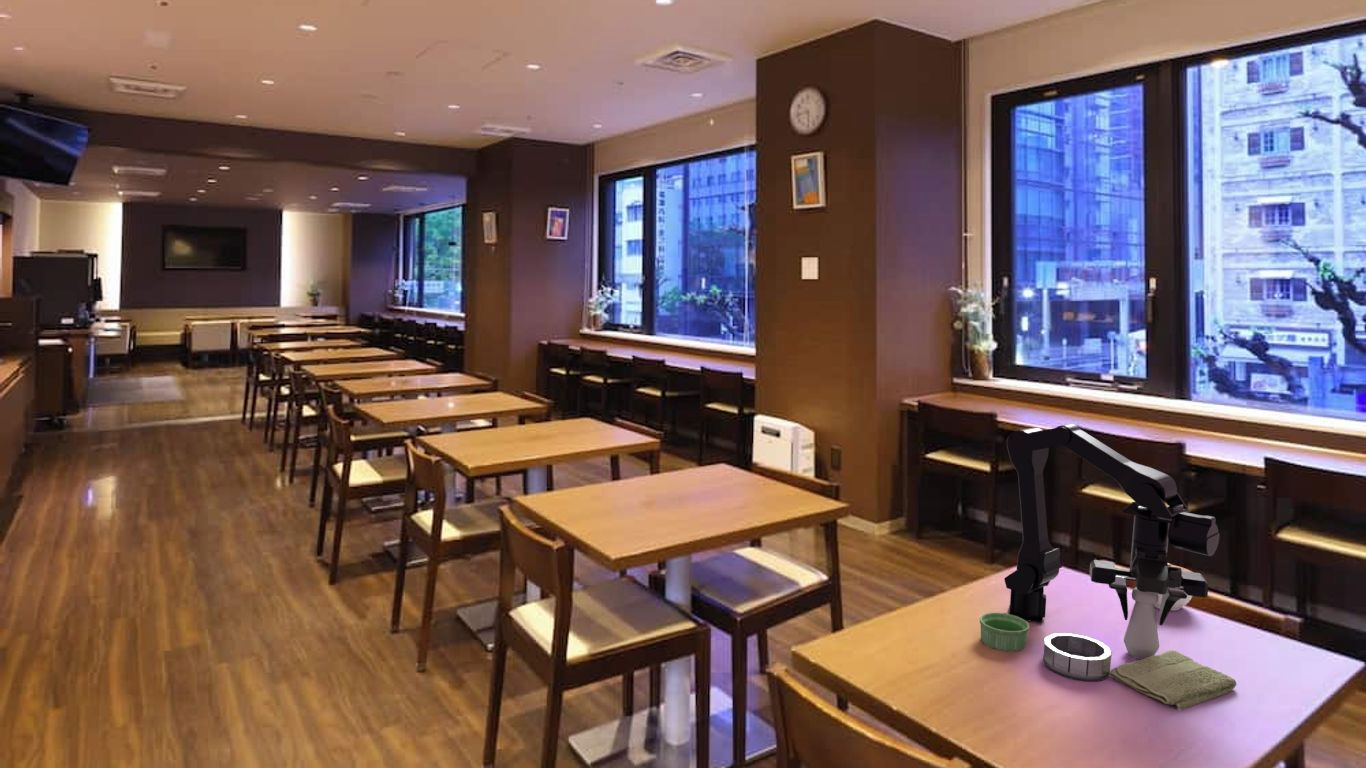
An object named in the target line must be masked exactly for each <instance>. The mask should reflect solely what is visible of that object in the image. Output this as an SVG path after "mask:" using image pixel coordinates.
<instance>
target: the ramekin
mask: <svg viewBox="0 0 1366 768" xmlns="http://www.w3.org/2000/svg"><path fill="white" fill-rule="evenodd" d="M979 624H980V639H981V642H982V643H983V644H984V645H986V646H987V647H989V648H991V647H992V648H991V649H994V648H995V649H994V650H997V649H998V650H997V651H1001V650H1002V651H1004V652H1010V651H1011V653H1012V652H1018V651H1021V650H1023V649H1024V648H1026V647H1025V646H1026V644H1027V643H1026V642H1027V638H1028V632H1029V629H1030V624H1029V622H1028V621H1026V620H1024V619H1022V618H1020V617H1017V616H1014V615H1010V614H1009V613H1004V612H987V613H984V614H981V615H980V616H979Z"/></svg>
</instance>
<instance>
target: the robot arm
mask: <svg viewBox="0 0 1366 768" xmlns="http://www.w3.org/2000/svg"><path fill="white" fill-rule="evenodd" d="M1058 446H1063V447H1064V448H1066V449H1067V450H1069V451H1070V452H1072V453H1073V454H1075V455H1076V456H1077V457H1080V458H1081V459H1083V460H1084V461H1085V462H1087V463H1088V464H1090V465H1092V466H1093V467H1095V468H1096V469H1098V470H1100V471H1101V472H1102V473H1104V474H1106V475H1107V476H1109V477H1110V478H1112V479H1113V480H1114V481H1115V482H1116V483H1118V485H1119V486H1120V488H1121V490H1122V491H1123V492H1124V493H1125V494H1126V495H1127V496H1128V497H1130V499H1132V500H1133V501H1132V502H1131V503H1130V504H1129V505H1128V506H1127V507H1124V508H1123V509H1121V513H1123V514H1125V515H1130V516H1134V517H1133V527H1132V528H1133V529H1132V538H1131V539H1132V540H1131V549H1130V550H1131V551H1130V552H1131V554H1130V562H1129V564H1130V565H1129V569H1125V568H1117V567H1116V566H1115V562H1113V561H1106V560H1098V559H1093V560H1092V561H1091V562H1090V564H1089V576H1090V581H1091V582H1093V583H1097V584H1103V585H1108V587H1109V589H1112V590H1115V592H1116V594H1117V596H1118V598H1119V602H1120V606H1121V611H1122V613H1123V618H1124V620H1125V621H1128V618H1129V608H1128V607H1129V605H1128V588H1127V584H1126V582H1127V581H1131V582H1135V585H1136V586H1135V587H1137V589H1138V590H1139V591H1142V592H1154V593H1158V594H1163V595H1162V600H1161V606H1160V609H1159V612H1158V613H1159V614H1158V625H1159V626H1163V625H1164V622H1165V620H1166V619H1167V617H1168V615H1169V613H1170V612H1171V608H1172V607H1173V605H1174V604H1175V603H1176V602H1177V601H1178V600H1179V599H1186V598H1187V595H1190V596H1192V597H1198V598H1204V599H1205V598H1208V596H1209V595H1208V594H1209V583H1208V582H1207V580H1206V579H1205V577H1204V576H1203V575H1202V574H1201V573H1200V572H1193V571H1192V572H1186V571H1181V568H1178V567H1171V566H1168V564H1167V563H1168V561H1167V559H1168V558H1167V557H1168V545H1169V544H1170V545H1172V546H1173V547H1174V548H1175V549H1179V550H1182V551H1187V552H1192V553H1194V554H1200V555H1205V556H1208V557H1212V556H1214V554H1215V553H1216V551H1217V549H1218V546H1219V542H1220V533H1219V528H1218V525H1217V523H1216V521H1217V520H1216V517H1215V516H1212V515H1201V514H1197V513H1196V514H1195V513H1190V509H1189V508H1188V506H1187V505H1186V503H1185V502H1184V500H1183V499H1182V497H1181V496H1180V494H1179V492H1178V487H1177V484H1176V481H1175V480H1174V478H1173V477H1172V476H1170V475H1168V474H1167V473H1164V472H1162V471H1160V470H1158V469H1156V468H1155V469H1154V468H1152V467H1150V466H1146V465H1143V464H1139V463H1137V462H1134V461H1132V460H1130V459H1128V458H1127V457H1125V456H1124V455H1122V454H1120V453H1118V452H1117V451H1115V449H1112V448H1111V447H1109V446H1108V445H1106V444H1105V443H1103V442H1101V441H1100V440H1098V439H1097V438H1095V437H1093V436H1092V435H1090V434H1088V433H1087V432H1086V431H1085V430H1082V429H1081V428H1080V427H1079V426H1078V425H1076V424H1075V423H1074V424H1073V423H1067V424H1061V425H1058V426H1056V427H1053V428H1050V429H1044V430H1043V429H1041V428H1039V427H1029V428H1024V429H1020V430H1014V431H1013V432H1011V434H1010V435H1009V436H1008V437H1007V439H1006V447H1007V451H1008V457H1009V460H1010V462H1011V464H1012V465H1013V467H1014V469H1015V471H1016V472H1017V478H1018V480H1017V482H1018V490H1019V491H1018V492H1019V502H1020V517H1021V518H1020V519H1021V529H1022V530H1021V531H1022V544H1021V546H1020V548H1019V551H1018V555H1017V561H1016V569H1015V571H1013V572H1011V573H1010V574H1008V575H1007V576H1005V577H1004V578H1003V579H1004V583H1005V587H1006V589H1009V590H1010V597H1009V598H1010V600H1009V605H1008V614H1010V615H1014V616H1017V617H1020V618H1022V619H1024V620H1025V621H1026V622H1033V623H1039V624H1042V623H1043V620H1044V619H1043V618H1046V610H1047V609H1046V608H1047V595H1046V594H1045V589H1044V587H1048V586H1049V585H1050V582H1051V581H1052V580H1055V578H1056V577H1058V575H1059V574H1060V569H1062V568H1063V566H1062V564H1061V559H1060V558H1061V550H1060V548H1059V547H1058V548H1057V547H1056V548H1054V547H1053V546H1052V544H1051V542H1050V541H1049V536H1048V535H1049V534H1048V523H1047V522H1048V521H1047V510H1046V507H1047V506H1046V498H1045V497H1046V496H1045V484H1044V483H1045V482H1044V469H1045V466H1046V464H1047V461H1048V458H1049V451H1050V448H1053V447H1058ZM1167 505H1168V506H1167ZM1186 594H1187V595H1186Z"/></svg>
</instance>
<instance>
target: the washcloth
mask: <svg viewBox="0 0 1366 768" xmlns="http://www.w3.org/2000/svg"><path fill="white" fill-rule="evenodd" d="M1109 677H1112V679H1113V680H1116V681H1117V682H1120V683H1122V684H1123V685H1126V686H1129V687H1130V688H1133V689H1134V690H1136V692H1140V693H1142V694H1144V695H1146V696H1147V697H1151V698H1152V699H1154V700H1155V699H1156V700H1158V701H1161V702H1162V703H1163V704H1166V705H1168V706H1171V707H1172V706H1173V707H1172V708H1175V709H1177V710H1179V709H1180V710H1184V709H1187V708H1189V707H1192V706H1195V705H1198V704H1201V703H1204V702H1207V701H1209V700H1212V699H1215V698H1217V697H1218V698H1219V697H1220V696H1222V695H1227V694H1228V693H1230V692H1233V690H1234V689H1235V688H1236V686H1237V681H1236V679H1235V678H1233V677H1231V676H1228V674H1225V673H1222V671H1217V670H1216V669H1213V668H1212V667H1209V666H1206V665H1203V664H1201V663H1198V662H1197V661H1194V659H1193V658H1190V657H1189V656H1186V655H1184V654H1183V653H1181V652H1179V651H1178V650H1173V649H1171V650H1167V651H1165V652H1163V653H1161V654H1158V655H1154V656H1151V657H1148V658H1145V659H1138V660H1136V661H1131V662H1126V663H1121V664H1119V665H1118V666H1117V667H1115V668H1112V669H1110V672H1109Z"/></svg>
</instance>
